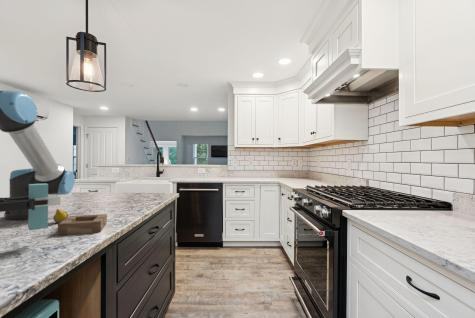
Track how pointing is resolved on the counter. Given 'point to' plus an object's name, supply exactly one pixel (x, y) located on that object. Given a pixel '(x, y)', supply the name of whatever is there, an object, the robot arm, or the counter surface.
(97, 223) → the block
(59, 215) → the yellow grooved cone
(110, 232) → the counter surface
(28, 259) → the counter surface
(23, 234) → the counter surface
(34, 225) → the teal peg
